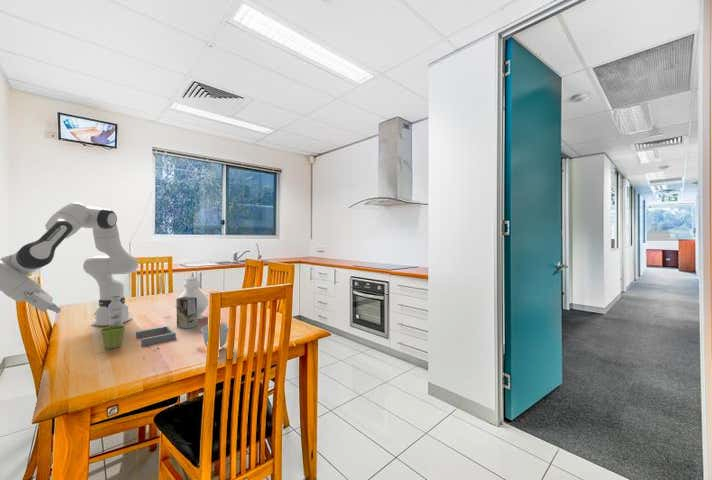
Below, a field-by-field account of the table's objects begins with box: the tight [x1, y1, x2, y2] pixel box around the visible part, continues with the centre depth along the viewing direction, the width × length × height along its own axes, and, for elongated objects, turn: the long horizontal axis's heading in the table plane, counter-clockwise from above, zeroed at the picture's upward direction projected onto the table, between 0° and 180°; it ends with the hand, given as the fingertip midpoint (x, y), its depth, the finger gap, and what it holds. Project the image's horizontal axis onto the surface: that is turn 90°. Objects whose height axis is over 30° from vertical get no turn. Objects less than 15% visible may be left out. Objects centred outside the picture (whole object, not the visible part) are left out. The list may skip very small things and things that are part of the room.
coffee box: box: [175, 297, 198, 329], centre depth 174 cm, size 9×6×16 cm
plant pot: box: [99, 324, 126, 350], centre depth 143 cm, size 9×9×9 cm
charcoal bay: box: [135, 325, 177, 347], centre depth 155 cm, size 15×14×3 cm
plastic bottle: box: [108, 296, 125, 334], centre depth 158 cm, size 6×7×20 cm
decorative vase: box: [175, 276, 209, 320], centre depth 190 cm, size 18×18×25 cm
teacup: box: [200, 323, 230, 348], centre depth 143 cm, size 12×15×10 cm
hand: (59, 311), depth 131 cm, fingers closed
